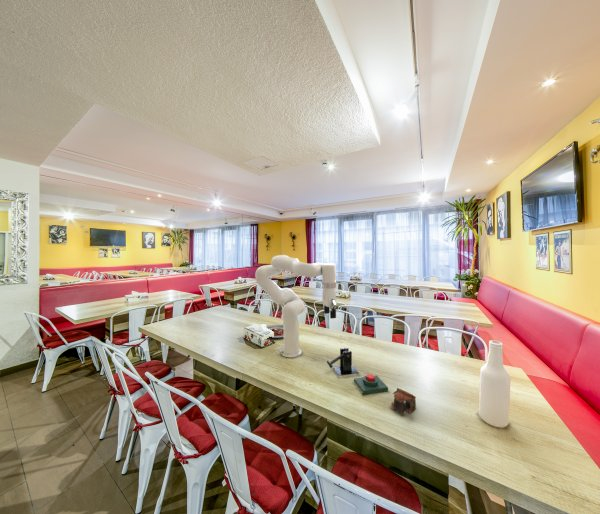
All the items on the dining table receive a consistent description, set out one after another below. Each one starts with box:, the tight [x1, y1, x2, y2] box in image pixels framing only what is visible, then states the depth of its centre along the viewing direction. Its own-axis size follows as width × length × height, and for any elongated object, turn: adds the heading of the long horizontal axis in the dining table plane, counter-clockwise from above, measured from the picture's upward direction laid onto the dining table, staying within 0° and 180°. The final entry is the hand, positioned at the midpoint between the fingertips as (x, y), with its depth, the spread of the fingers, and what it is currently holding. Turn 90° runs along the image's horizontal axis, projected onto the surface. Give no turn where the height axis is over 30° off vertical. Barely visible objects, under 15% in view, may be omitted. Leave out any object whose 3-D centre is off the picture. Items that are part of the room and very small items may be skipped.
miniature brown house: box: [390, 387, 417, 416], centre depth 96 cm, size 12×10×8 cm
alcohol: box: [478, 339, 511, 428], centre depth 90 cm, size 9×9×30 cm
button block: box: [353, 374, 389, 396], centre depth 112 cm, size 12×10×4 cm
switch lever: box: [326, 350, 347, 369], centre depth 124 cm, size 12×5×2 cm, turn 100°
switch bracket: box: [332, 347, 360, 377], centre depth 125 cm, size 11×9×12 cm
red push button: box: [366, 373, 376, 382], centre depth 112 cm, size 4×4×2 cm
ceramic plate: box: [266, 324, 284, 339], centre depth 181 cm, size 26×26×3 cm
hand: (329, 315), depth 135 cm, fingers open, 9 cm apart
